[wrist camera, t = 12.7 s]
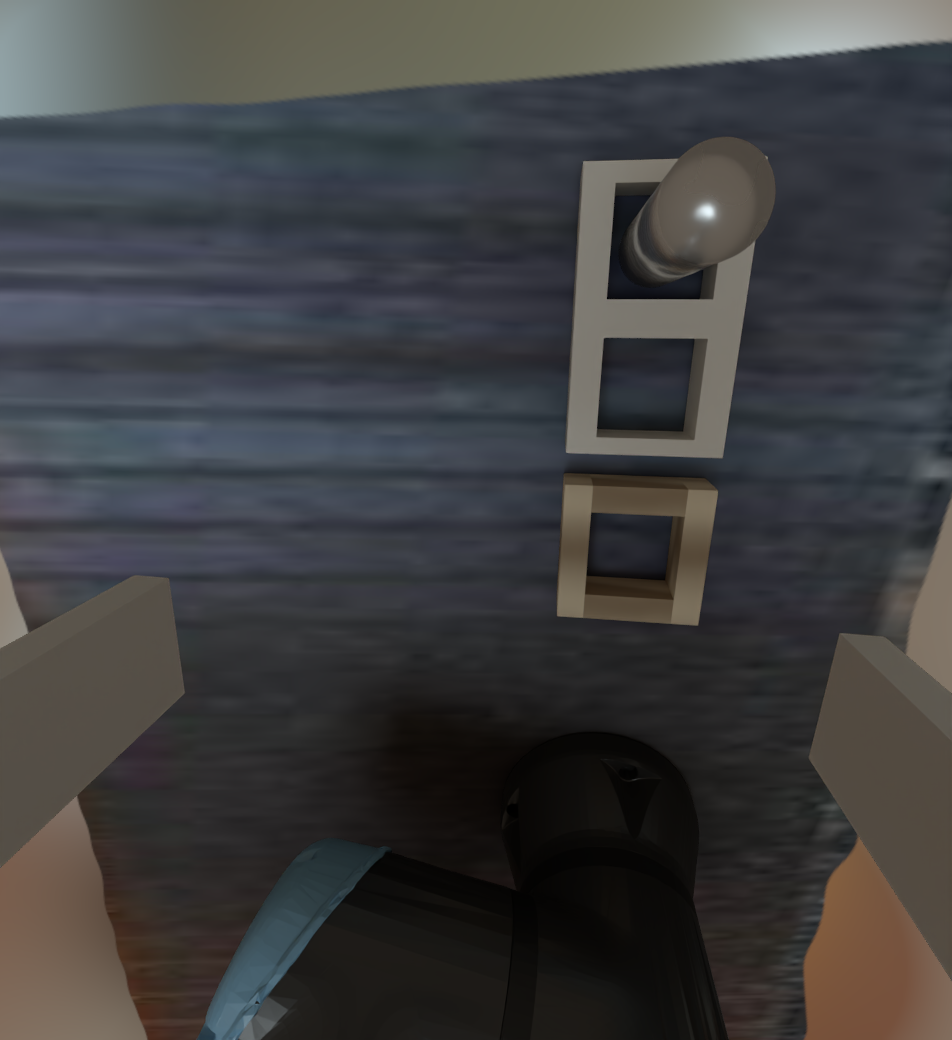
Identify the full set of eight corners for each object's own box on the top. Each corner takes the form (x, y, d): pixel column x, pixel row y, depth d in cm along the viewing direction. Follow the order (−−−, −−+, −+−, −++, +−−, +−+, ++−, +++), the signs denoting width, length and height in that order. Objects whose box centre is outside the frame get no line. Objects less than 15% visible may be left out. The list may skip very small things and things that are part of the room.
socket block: (687, 604, 39) (698, 625, 36) (556, 596, 40) (557, 616, 37) (705, 478, 36) (718, 490, 33) (563, 473, 37) (564, 484, 34)
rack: (708, 447, 35) (722, 458, 33) (564, 443, 37) (566, 453, 34) (748, 172, 31) (768, 156, 28) (580, 176, 32) (583, 161, 29)
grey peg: (701, 264, 32) (792, 223, 20) (636, 301, 33) (685, 284, 21) (672, 196, 31) (750, 110, 19) (606, 236, 32) (639, 180, 20)
